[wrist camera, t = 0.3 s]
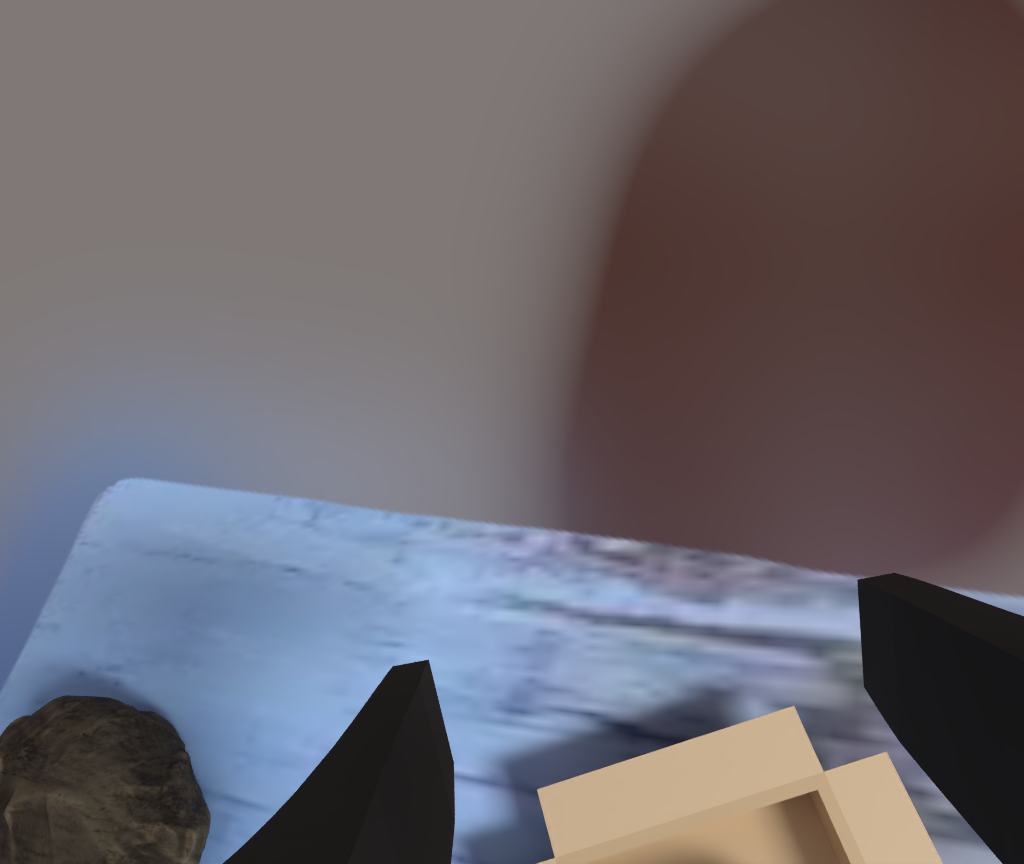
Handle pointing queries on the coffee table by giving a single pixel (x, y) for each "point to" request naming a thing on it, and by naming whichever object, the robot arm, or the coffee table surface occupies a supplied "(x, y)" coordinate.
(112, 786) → the rock
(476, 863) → the coffee table surface
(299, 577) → the coffee table surface
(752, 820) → the carton
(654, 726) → the coffee table surface
